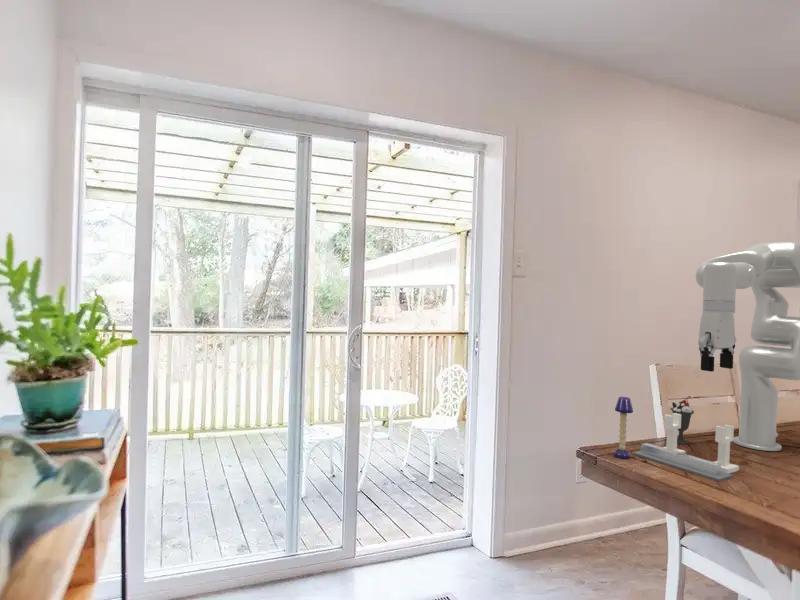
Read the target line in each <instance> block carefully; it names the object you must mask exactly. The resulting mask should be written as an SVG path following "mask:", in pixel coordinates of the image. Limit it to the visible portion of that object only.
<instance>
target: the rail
mask: <svg viewBox="0 0 800 600" xmlns="http://www.w3.org/2000/svg"><path fill="white" fill-rule="evenodd" d="M663 447H664V446H662V447H661V446H659V445H655V444H653V443H648V442H645V443H642V444H641V450H640V451H641V453H644V454H647V455H650V456H654V457H657V458H660V459H663V460H667V461H670V462H673V463H676V464H680V465H683V466H686V467H689V468H693V469H696V470H699V471H702V472H706V473H709V474H712V475H715V476H716V475H719V474H721V464H718V463H715V461H711V460H708V459H704V458H701V457H697V456H694V455H690V454H683V453H680V452H676V451H673V450H669V449H666V448H663Z"/></svg>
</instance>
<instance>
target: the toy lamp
mask: <svg viewBox="0 0 800 600" xmlns="http://www.w3.org/2000/svg"><path fill="white" fill-rule="evenodd" d="M614 408H615V409H614V410H615V411H616V412H618V413H619V422H620V423H619V430H618V431H619V435H618V438H619V440H618V442H619V445H618V448H619V449H618V448H617V449H616V450H615V451H614V453H613V456H614V457H616V458H618V459H630V458H631V455H630V453H629V452H628V450H626V449H627V447H626V443H627V441H626V439H627V435H626V434H627V429H626V428H627V420H628V419H627V416H628V414H633V412H634V410H633V405H632V401H631V398H630V397H628V396H618V399H617V402H616V405H615V406H614Z"/></svg>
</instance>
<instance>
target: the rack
mask: <svg viewBox="0 0 800 600" xmlns="http://www.w3.org/2000/svg"><path fill="white" fill-rule="evenodd" d="M679 428H681V414H677V413H673V412H672V415H670V414H666V413H665V414H664V419H663V429H666V444H665V446H662V447H663V448H666V449H669V450H673V451H676V452H680V453H683V454H686V453H687V451H686V450H683V449H680V448H678V443H677V438H678V435H679V431H678V429H679ZM734 430H735V426H734V425H730V424H724V425H723V426H720V425H716V426H715V435H714V438H715V439H714V442H716V443H717V459H716V460H715V461H714V462H715V463H718V464H721V471H722V472H725V473H728V474H732V473H735V472H739V470H740V466H739V465H737V464H733V463H730V456H731V455H730V453H731V443H732V442H733V438H734V437H735V435H734V433H735V431H734Z"/></svg>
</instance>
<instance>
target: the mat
mask: <svg viewBox="0 0 800 600" xmlns="http://www.w3.org/2000/svg"><path fill="white" fill-rule="evenodd" d="M641 451H642V450H639V451H634V452H633V453H632V455H633V456H636V457H640V458H643V459H645V460H649V461H652V462H656V463H657V464H658V463H659V464H662V465H666V466H667V467H671V468H675V469H677V468H678V469H677V470H681V471H684V472H686V473H690V474H694V475H696V476H700V477H703V478H706V479H708V480H713V481H716V482H722V481H726V480H729V479H733V478H734V475H733V474H732V473H729V474H728V473H725V472H722V471H721V474H719V475H716V476H715V475H712V474H709V473H706V472H702V471H699V470H696V469H693V468H689V467H686V466H683V465H680V464H676V463H673V462H670V461H667V460H663V459H660V458H657V457H654V456H650V455H647V454H644V453H641Z"/></svg>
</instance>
